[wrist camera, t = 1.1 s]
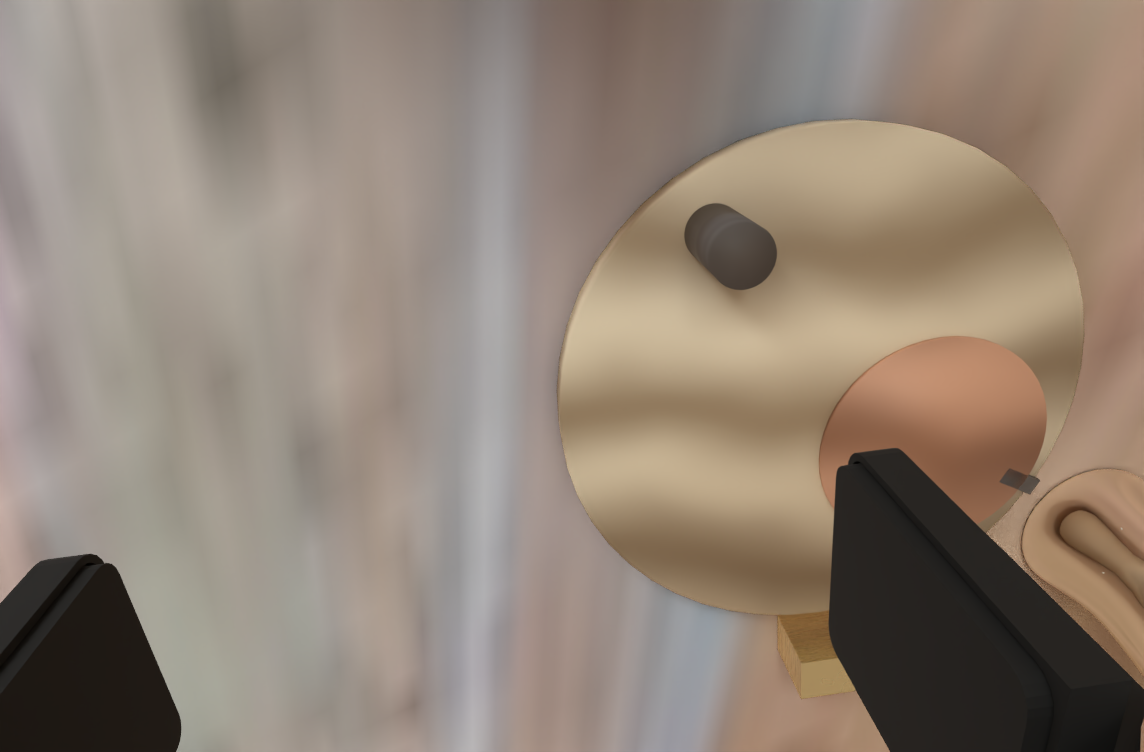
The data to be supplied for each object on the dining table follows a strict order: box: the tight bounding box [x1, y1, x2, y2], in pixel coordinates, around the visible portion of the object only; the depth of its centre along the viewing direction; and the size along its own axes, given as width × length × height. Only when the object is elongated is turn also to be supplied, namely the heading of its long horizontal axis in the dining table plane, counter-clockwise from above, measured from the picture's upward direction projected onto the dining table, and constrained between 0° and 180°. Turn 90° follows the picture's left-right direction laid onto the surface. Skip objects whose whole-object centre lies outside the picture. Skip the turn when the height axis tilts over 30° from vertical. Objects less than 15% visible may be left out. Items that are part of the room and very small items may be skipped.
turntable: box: [557, 119, 1084, 615], centre depth 27 cm, size 20×20×5 cm
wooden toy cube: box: [778, 610, 855, 699], centre depth 33 cm, size 2×2×3 cm
